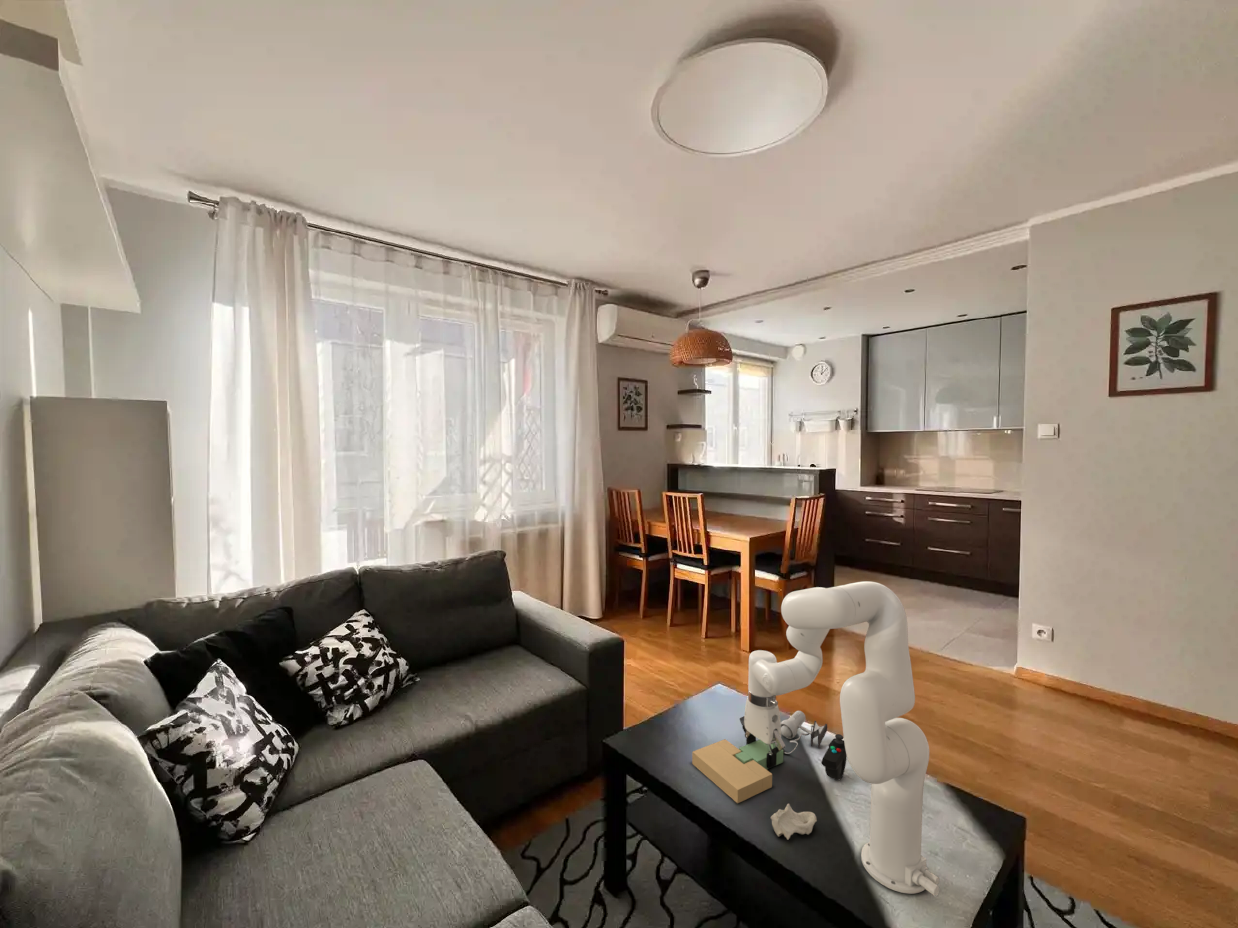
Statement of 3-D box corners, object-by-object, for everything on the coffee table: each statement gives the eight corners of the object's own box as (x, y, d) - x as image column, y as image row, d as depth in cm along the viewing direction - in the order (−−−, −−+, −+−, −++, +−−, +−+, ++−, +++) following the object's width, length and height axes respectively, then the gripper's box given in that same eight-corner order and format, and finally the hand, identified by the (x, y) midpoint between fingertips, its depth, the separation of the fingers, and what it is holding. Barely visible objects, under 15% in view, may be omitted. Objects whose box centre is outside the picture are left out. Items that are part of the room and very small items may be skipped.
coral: (820, 831, 118) (821, 812, 118) (785, 846, 114) (786, 827, 114) (802, 814, 124) (802, 797, 123) (768, 828, 119) (768, 810, 119)
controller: (849, 769, 140) (850, 734, 140) (836, 794, 131) (837, 756, 130) (833, 763, 143) (834, 728, 143) (819, 787, 133) (819, 749, 133)
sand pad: (772, 786, 134) (772, 773, 133) (737, 803, 127) (737, 789, 127) (724, 750, 149) (725, 738, 149) (692, 763, 143) (692, 751, 143)
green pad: (783, 762, 144) (783, 749, 143) (748, 777, 137) (749, 764, 137) (764, 748, 150) (764, 737, 149) (730, 763, 143) (731, 750, 143)
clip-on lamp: (799, 773, 143) (831, 735, 155) (799, 754, 142) (831, 718, 153) (763, 750, 152) (795, 716, 163) (762, 732, 150) (795, 699, 162)
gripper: (796, 707, 137) (795, 771, 138) (749, 680, 152) (748, 738, 153) (776, 715, 134) (775, 781, 135) (730, 686, 149) (729, 746, 150)
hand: (760, 758), depth 144 cm, fingers closed on green pad, 7 cm apart
